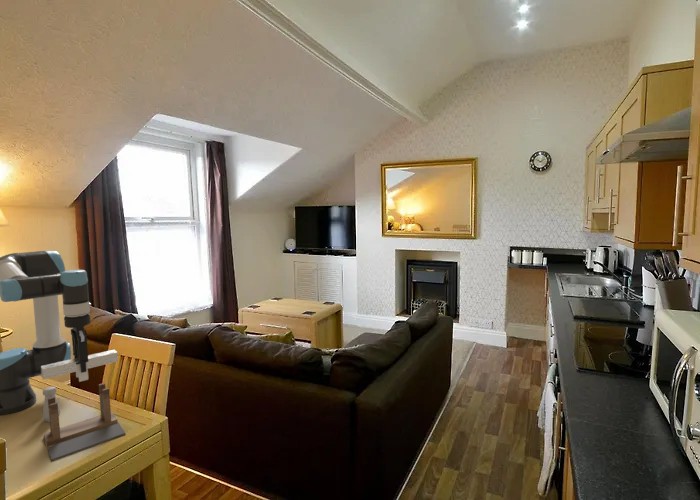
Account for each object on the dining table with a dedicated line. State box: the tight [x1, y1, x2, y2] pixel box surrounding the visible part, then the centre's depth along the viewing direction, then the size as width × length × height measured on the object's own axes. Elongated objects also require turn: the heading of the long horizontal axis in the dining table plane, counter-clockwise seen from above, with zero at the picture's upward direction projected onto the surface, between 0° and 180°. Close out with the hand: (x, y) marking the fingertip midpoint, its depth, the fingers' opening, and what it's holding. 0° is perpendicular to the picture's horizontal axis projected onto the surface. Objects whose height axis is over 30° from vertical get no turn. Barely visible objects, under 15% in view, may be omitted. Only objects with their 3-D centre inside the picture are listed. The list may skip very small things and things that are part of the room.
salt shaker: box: [41, 386, 61, 423], centre depth 154 cm, size 6×6×13 cm
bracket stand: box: [43, 382, 119, 448], centre depth 146 cm, size 8×22×14 cm, turn 134°
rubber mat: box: [47, 422, 127, 462], centre depth 140 cm, size 9×22×1 cm, turn 134°
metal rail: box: [40, 349, 119, 380], centre depth 138 cm, size 4×22×4 cm, turn 134°
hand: (82, 378), depth 139 cm, fingers closed on metal rail, 4 cm apart
